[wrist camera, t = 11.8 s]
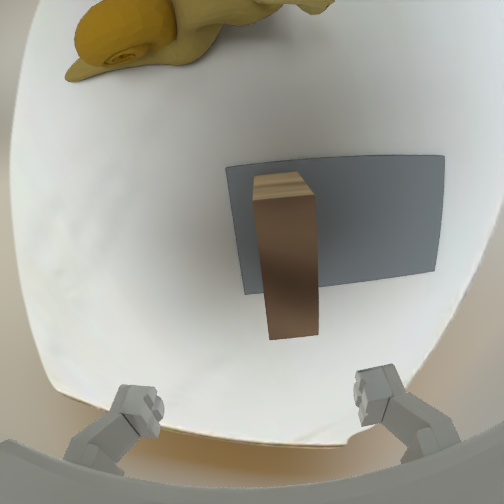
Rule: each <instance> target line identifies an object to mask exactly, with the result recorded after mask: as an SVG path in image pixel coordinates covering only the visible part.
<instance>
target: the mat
mask: <svg viewBox="0 0 504 504" xmlns="http://www.w3.org/2000/svg"><path fill="white" fill-rule="evenodd" d="M296 171H297V172H298V173H299V174H300V176H301V177H302V178H303V180H304V181H305V182H306V184H307V185H308V187H309V188H310V189H311V191H312V192H313V193H314V195H315V203H316V222H317V246H318V287H324V286H333V285H341V284H349V283H357V282H364V281H372V280H379V279H386V278H393V277H400V276H407V275H413V274H420V273H426V272H433V271H435V265H436V259H437V252H438V245H439V238H440V229H441V220H442V209H443V195H444V172H445V156H437V155H372V156H345V157H327V158H312V159H299V160H287V161H277V162H267V163H258V164H249V165H241V166H233V167H226V175H227V182H228V188H229V195H230V202H231V208H232V215H233V222H234V228H235V235H236V241H237V248H238V254H239V260H240V267H241V273H242V279H243V285H244V292H245V295H248V294H258V293H264V291H263V283H262V274H261V266H260V258H259V250H258V242H257V234H256V226H255V219H254V211H253V203H252V200H253V185H254V176H256V175H265V174H275V173H285V172H296Z"/></svg>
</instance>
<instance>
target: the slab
mask: <svg viewBox="0 0 504 504" xmlns="http://www.w3.org/2000/svg"><path fill="white" fill-rule="evenodd" d="M252 203H253V211H254V219H255V226H256V234H257V242H258V250H259V258H260V266H261V274H262V283H263V291H264V299H265V307H266V315H267V323H268V332H269V340H277V339H287V338H296V337H305V336H314V335H318V330H319V290H318V246H317V222H316V203H315V195H314V193H313V192H312V191H311V189H310V188H309V187H308V185H307V184H306V182H305V181H304V180H303V178H302V177H301V176H300V174H299V173H298V172H297V171H296V172H285V173H275V174H265V175H256V176H254V185H253V200H252Z"/></svg>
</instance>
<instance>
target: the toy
mask: <svg viewBox="0 0 504 504" xmlns="http://www.w3.org/2000/svg"><path fill="white" fill-rule="evenodd" d="M333 2H335V0H103V1H101V2H99V3H98V4H96V5H94V6H93V7H91V8H90V9H89V10H88V12H87V13H86V14H85V15H84V16H83V18H82V19H81V20H80V22H79V24H78V26H77V29H76V32H75V38H74V41H75V48H76V50H77V53H78V55H79V57H80V58H79V59H78V60H77V61H76V62H75V63H74V64H73V65H72V66H71V67H70V68H69V70H68V71H67V73H66V75H65V80H67V81H68V82H76V81H80V80H83V79H85V78H88V77H91V76H94V75H97V74H100V73H103V72H106V71H110V70H116V69H121V68H127V67H133V66H139V65H145V64H168V65H184V64H188V63H191V62H193V61H194V60H196V59H198V58H199V57H201V56H202V55H203V54H204V53H205V52H206V51H207V50H208V49H209V47H210V46H211V45H212V44H213V42H214V41H215V39H216V37H217V35H218V34H219V32H220V30H221V28H222V26H223V24H230V25H234V26H244V25H249V24H253V23H255V22H257V21H259V20H261V19H263V18H265V17H268V16H270V15H271V14H273V13H275V12H276V11H278V10H279V9H280V8H281V7H282V5H283V4H296V5H297V6H298V7H299V8H301V9H302V10H303V11H305V12H307V13H308V14H310V15H316V14H320V13H322V12H323V11H325V10H326V8H327V7H328V6H329V5H330V4H332V3H333Z"/></svg>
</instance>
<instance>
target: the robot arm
mask: <svg viewBox="0 0 504 504" xmlns="http://www.w3.org/2000/svg"><path fill="white" fill-rule="evenodd" d="M355 378H356V383H355V384H354V389H353V390H354V400H355V404H356V406H357V407H359V412H358V415H359V419H360V423H361V427H363V426H368V425H373V424H378V423H381V424H383V425H384V426H385V427H386V428H387V429H388V430H389V431H390V432H391V433H393V434H394V435H395V436H396V437H397V438H398V439H399V440H401V441H402V442H403V443H404V444H405V445H406V446H407V447H408V449H407V450H406V452H405V453H404V455H403V457H402V459H401V464H400V465H397V466H394V467H390V468H387V469H383V470H379V471H375V472H371V473H367V474H363V475H358V476H353V477H348V478H343V479H337V480H331V481H325V482H318V483H311V484H303V485H293V486H281V487H264V488H214V487H197V486H184V485H175V484H167V483H159V482H153V481H147V480H140V479H135V478H130V477H125V476H124V471H123V470H122V469H121V468H120V467H119V466H118V465H117V464H116V463H117V462H118V461H119V460H120V459H121V458H122V457H123V456H124V455H125V454H126V453H127V452H128V451H129V450H130V449H131V448H132V447H133V445H134V444H135V443H136V442H137V441H138V440H139V439H140V437H146V438H158V435H159V432H160V428H161V426H160V424H159V421H160V420H161V419H163V416H164V403H163V401H162V399H161V398H160V397H159V396H157V390H156V389H155V387H151V386H137V385H124V384H122V385H121V386H120V387H119V389H118V392H117V394H116V396H115V399H114V401H113V403H112V406H111V408H110V411H109V412H105V413H104V414H103V415H102V416H100V417H99V418H98V419H97V420H95V421H94V422H93V423H91V424H90V425H89V426H87V427H86V428H85V429H83V430H82V431H81V432H79V433H78V434H77V435H75V436H74V437H73V438H72V439H71V441H70V443H69V446H68V448H67V450H66V453H65V455H64V458H63V459H59V458H57V457H54V456H51V455H48V454H46V453H43V452H40V451H38V450H36V449H33V448H31V447H28V446H26V445H24V444H22V443H19V442H17V441H15V440H12V439H8V440H5V441H3V442H1V443H0V504H504V421H503V422H501V423H499V424H497V425H495V426H493V427H492V428H490V429H488V430H486V431H484V432H482V433H480V434H478V435H475V436H473V437H471V438H469V439H467V440H465V441H462V442H461V440H460V438H459V435H458V433H457V431H456V429H455V426H454V424H453V422H452V420H451V418H450V417H448V416H447V415H445V414H443V413H442V412H440V411H439V410H437V409H435V408H433V407H432V406H431V405H429V404H427V403H426V402H424V401H423V400H421V399H420V398H418V397H416V396H414V395H413V394H412V393H410V392H408V393H406V391H405V389H404V386H403V384H402V382H401V379H400V377H399V375H398V373H397V370H396V368H395V366H394V365H393V364H388V365H383V366H378V367H373V368H368V369H364V370H359V371H357V372H356V375H355Z"/></svg>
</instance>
